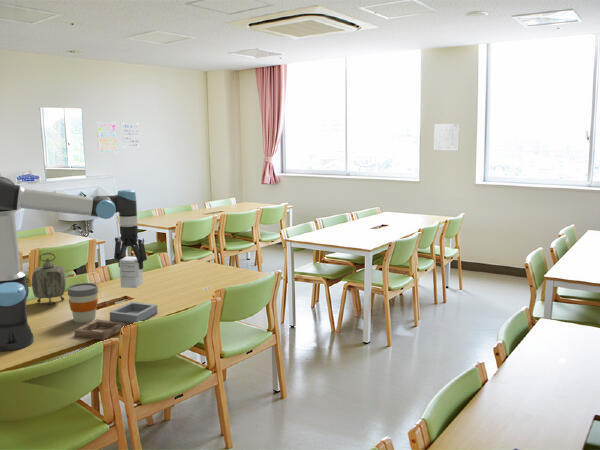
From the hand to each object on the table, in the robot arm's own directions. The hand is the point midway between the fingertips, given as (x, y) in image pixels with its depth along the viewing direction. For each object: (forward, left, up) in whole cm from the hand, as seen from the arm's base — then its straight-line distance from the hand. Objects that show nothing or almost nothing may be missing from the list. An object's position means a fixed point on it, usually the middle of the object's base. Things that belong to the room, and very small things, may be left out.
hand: (131, 275), depth 240 cm
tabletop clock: (+4, +50, -20) cm, 54 cm away
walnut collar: (-20, +2, -20) cm, 28 cm away
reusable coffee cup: (-9, +19, -20) cm, 29 cm away
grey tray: (+1, 0, -20) cm, 20 cm away
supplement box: (0, 0, -5) cm, 5 cm away
